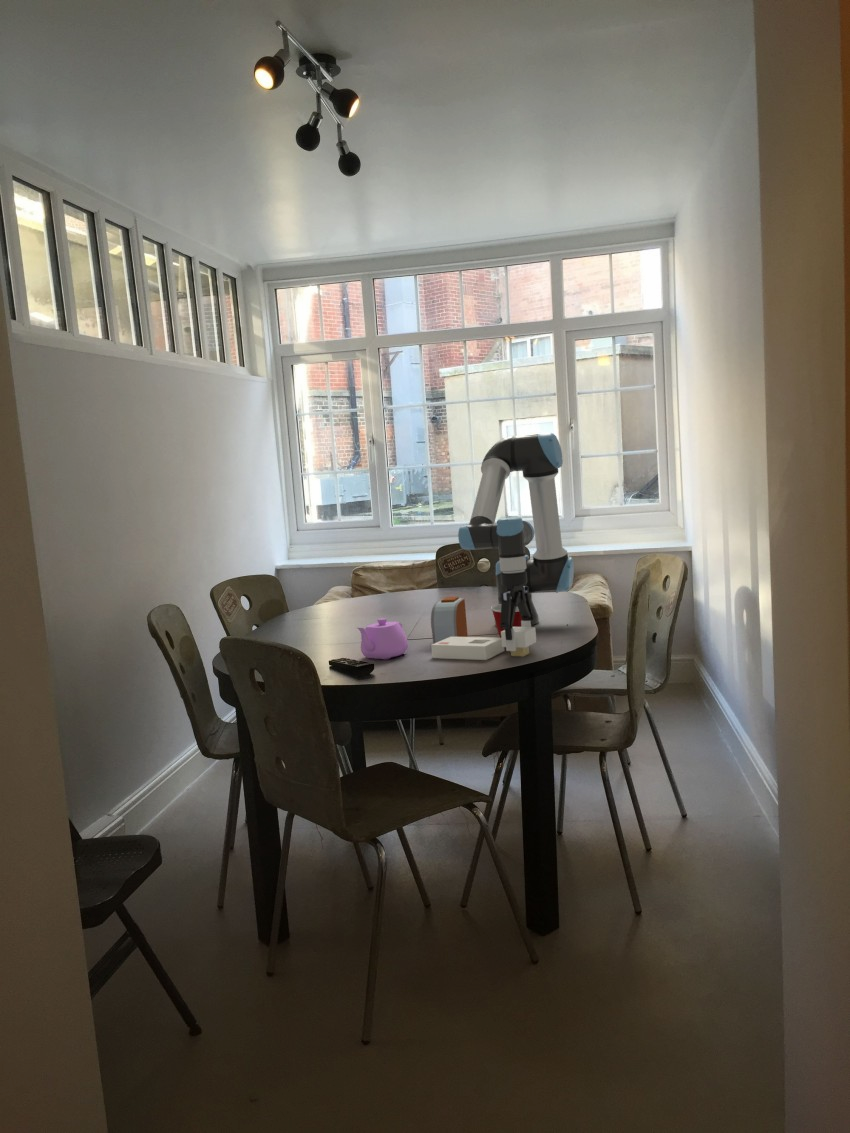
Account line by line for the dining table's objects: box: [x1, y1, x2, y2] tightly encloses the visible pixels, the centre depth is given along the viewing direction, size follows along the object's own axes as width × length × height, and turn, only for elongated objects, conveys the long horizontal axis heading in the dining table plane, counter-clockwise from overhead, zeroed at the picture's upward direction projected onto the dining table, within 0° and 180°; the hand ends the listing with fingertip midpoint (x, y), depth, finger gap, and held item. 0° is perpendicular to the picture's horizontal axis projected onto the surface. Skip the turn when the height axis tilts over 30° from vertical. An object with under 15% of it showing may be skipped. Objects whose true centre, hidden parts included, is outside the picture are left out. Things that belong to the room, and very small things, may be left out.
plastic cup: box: [490, 604, 523, 638], centre depth 275 cm, size 11×11×12 cm
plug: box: [501, 626, 537, 657], centre depth 259 cm, size 8×8×8 cm
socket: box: [430, 636, 505, 661], centre depth 266 cm, size 12×18×4 cm, turn 59°
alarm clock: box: [430, 596, 469, 644], centre depth 289 cm, size 15×8×14 cm, turn 164°
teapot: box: [357, 617, 409, 661], centre depth 273 cm, size 20×13×12 cm, turn 142°
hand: (519, 646), depth 260 cm, fingers open, 10 cm apart
